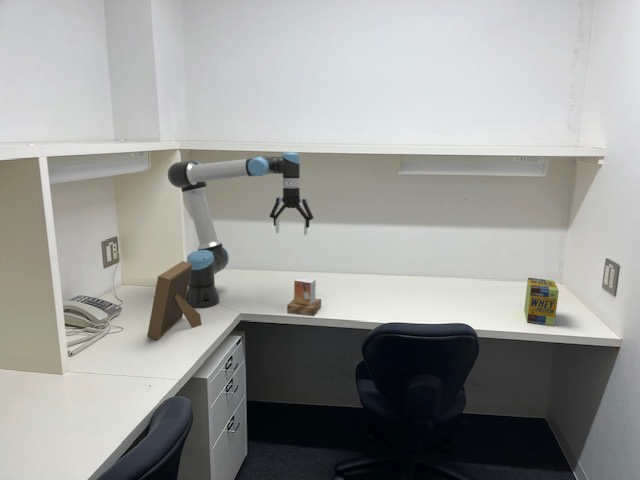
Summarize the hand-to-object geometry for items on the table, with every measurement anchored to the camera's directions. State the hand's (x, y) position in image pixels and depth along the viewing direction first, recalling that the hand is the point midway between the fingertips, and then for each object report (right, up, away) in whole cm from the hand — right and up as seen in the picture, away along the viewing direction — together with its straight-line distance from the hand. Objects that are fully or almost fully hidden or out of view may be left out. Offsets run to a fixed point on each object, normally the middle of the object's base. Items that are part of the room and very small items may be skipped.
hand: (291, 233), depth 207 cm
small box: (+6, -31, -8) cm, 32 cm away
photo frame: (-43, -38, -29) cm, 64 cm away
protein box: (+107, -36, -14) cm, 114 cm away
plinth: (+6, -34, -7) cm, 36 cm away
